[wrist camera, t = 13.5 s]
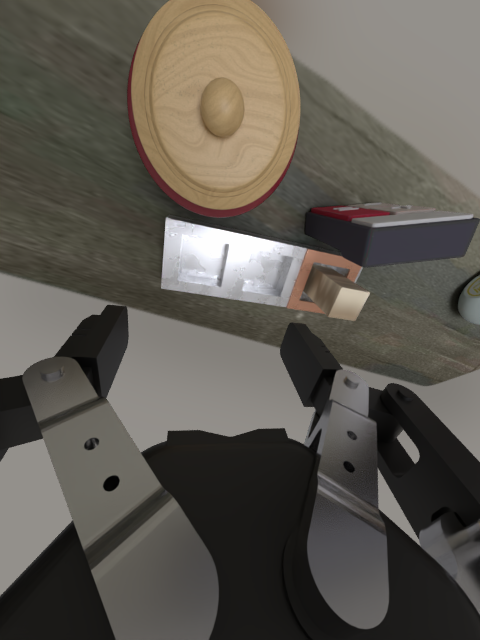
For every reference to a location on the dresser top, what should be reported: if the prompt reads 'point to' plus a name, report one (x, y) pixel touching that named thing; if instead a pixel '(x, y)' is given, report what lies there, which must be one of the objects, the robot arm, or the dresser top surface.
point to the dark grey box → (391, 232)
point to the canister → (214, 104)
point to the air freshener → (470, 302)
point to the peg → (335, 293)
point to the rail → (243, 264)
